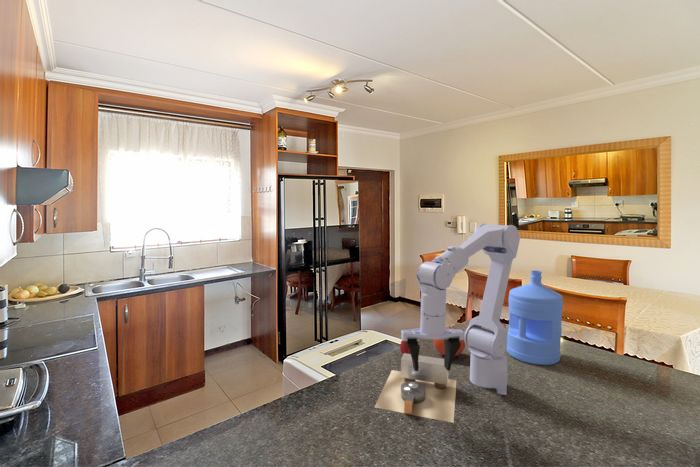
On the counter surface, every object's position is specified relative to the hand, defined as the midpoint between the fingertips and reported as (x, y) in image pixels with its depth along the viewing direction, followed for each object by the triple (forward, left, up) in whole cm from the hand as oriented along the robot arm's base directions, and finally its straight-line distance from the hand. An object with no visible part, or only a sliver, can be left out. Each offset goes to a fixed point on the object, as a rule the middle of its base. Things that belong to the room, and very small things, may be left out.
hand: (431, 368), depth 83 cm
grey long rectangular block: (+3, -9, -7) cm, 12 cm away
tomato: (-3, -33, -10) cm, 35 cm away
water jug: (-29, -42, -10) cm, 52 cm away
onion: (+9, -26, -10) cm, 30 cm away
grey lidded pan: (+4, 0, -9) cm, 10 cm away
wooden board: (+3, -4, -10) cm, 11 cm away
